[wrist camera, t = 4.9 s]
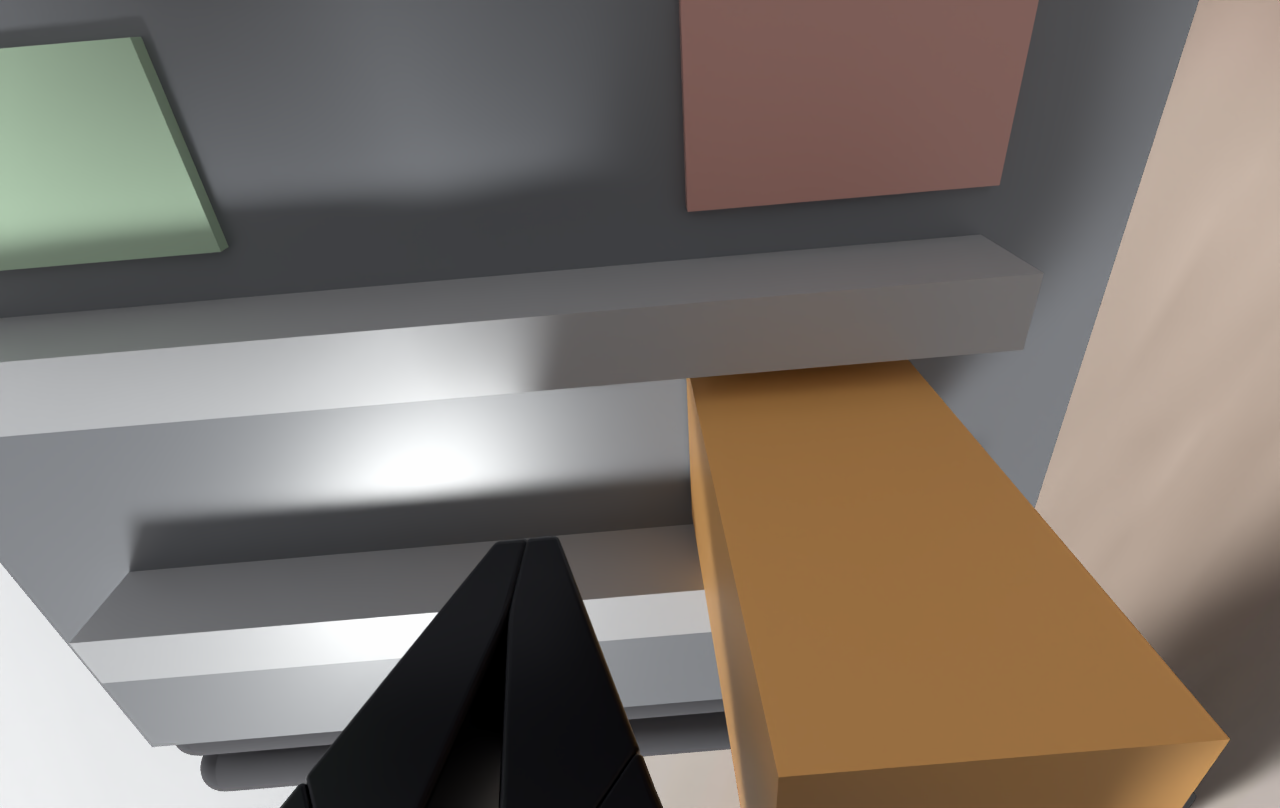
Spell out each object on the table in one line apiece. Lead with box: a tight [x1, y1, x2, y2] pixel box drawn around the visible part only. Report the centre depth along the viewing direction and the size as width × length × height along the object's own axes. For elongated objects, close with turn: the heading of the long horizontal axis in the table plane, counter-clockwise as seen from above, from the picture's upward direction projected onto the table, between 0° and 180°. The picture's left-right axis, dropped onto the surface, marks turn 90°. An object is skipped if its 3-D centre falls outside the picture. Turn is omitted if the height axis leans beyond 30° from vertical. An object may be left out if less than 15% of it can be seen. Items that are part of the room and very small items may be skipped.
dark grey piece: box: [176, 699, 731, 791], centre depth 16 cm, size 19×3×1 cm, turn 94°
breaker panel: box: [0, 0, 1199, 747], centre depth 11 cm, size 18×14×4 cm
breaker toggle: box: [686, 360, 1230, 808], centre depth 8 cm, size 3×3×6 cm
